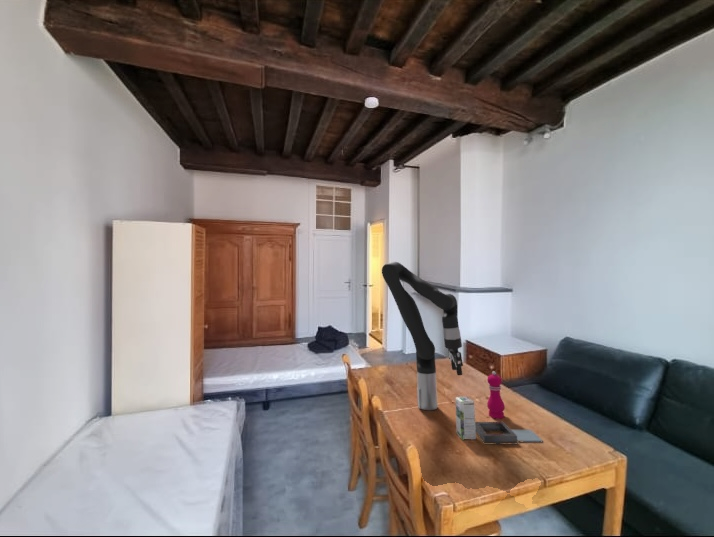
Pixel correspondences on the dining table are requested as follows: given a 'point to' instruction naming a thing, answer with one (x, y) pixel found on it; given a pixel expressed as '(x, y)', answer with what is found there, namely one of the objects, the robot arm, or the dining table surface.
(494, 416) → the pepper mill
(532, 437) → the slate mat
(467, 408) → the syrup box
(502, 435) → the iron collar
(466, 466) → the dining table surface
